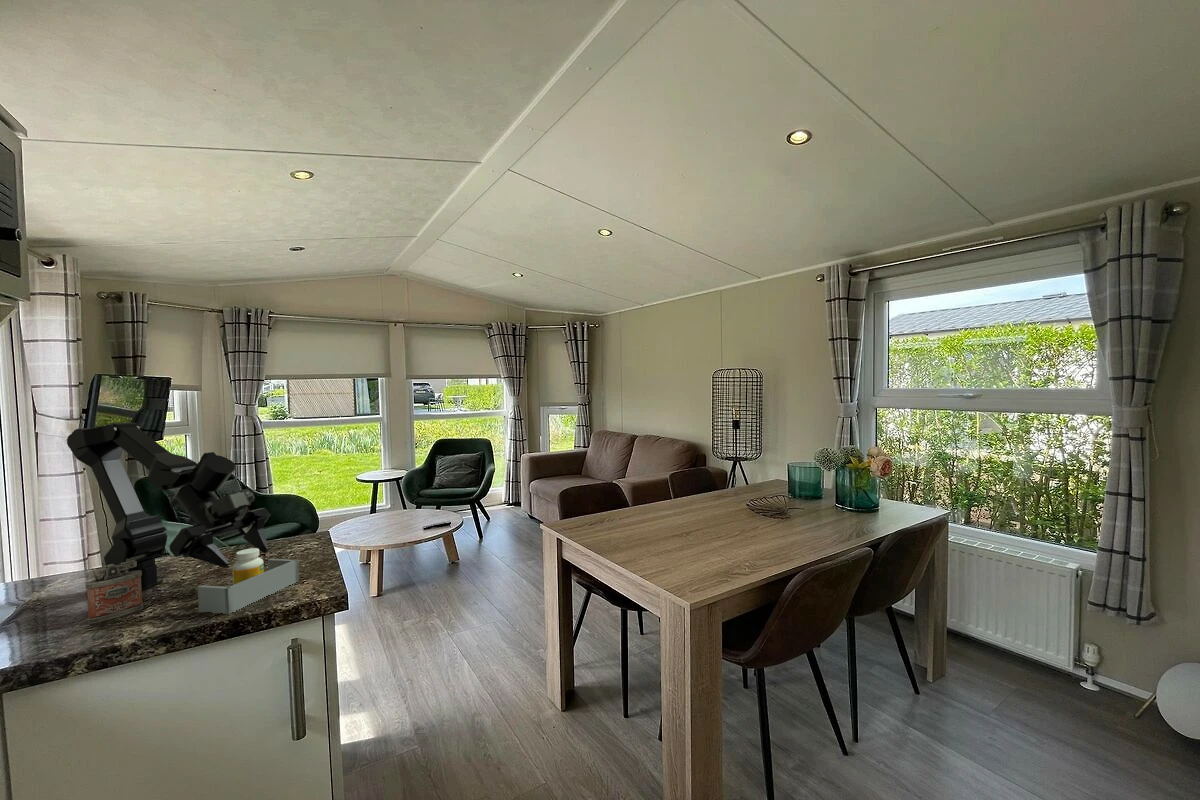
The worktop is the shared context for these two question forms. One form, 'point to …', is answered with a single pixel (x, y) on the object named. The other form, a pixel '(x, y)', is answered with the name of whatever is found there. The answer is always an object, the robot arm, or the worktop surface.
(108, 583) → the lighter
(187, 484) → the robot arm
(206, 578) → the worktop surface
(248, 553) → the supplement bottle
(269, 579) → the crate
